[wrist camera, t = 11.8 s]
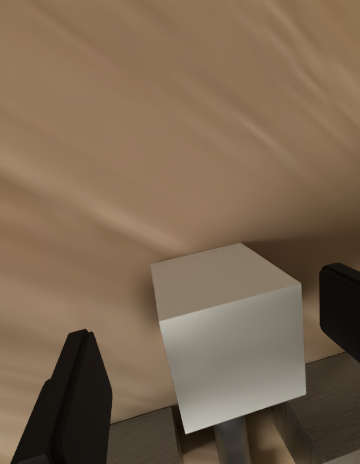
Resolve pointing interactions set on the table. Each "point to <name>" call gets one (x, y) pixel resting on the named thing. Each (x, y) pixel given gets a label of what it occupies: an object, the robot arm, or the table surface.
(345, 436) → the block
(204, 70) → the table surface
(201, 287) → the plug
